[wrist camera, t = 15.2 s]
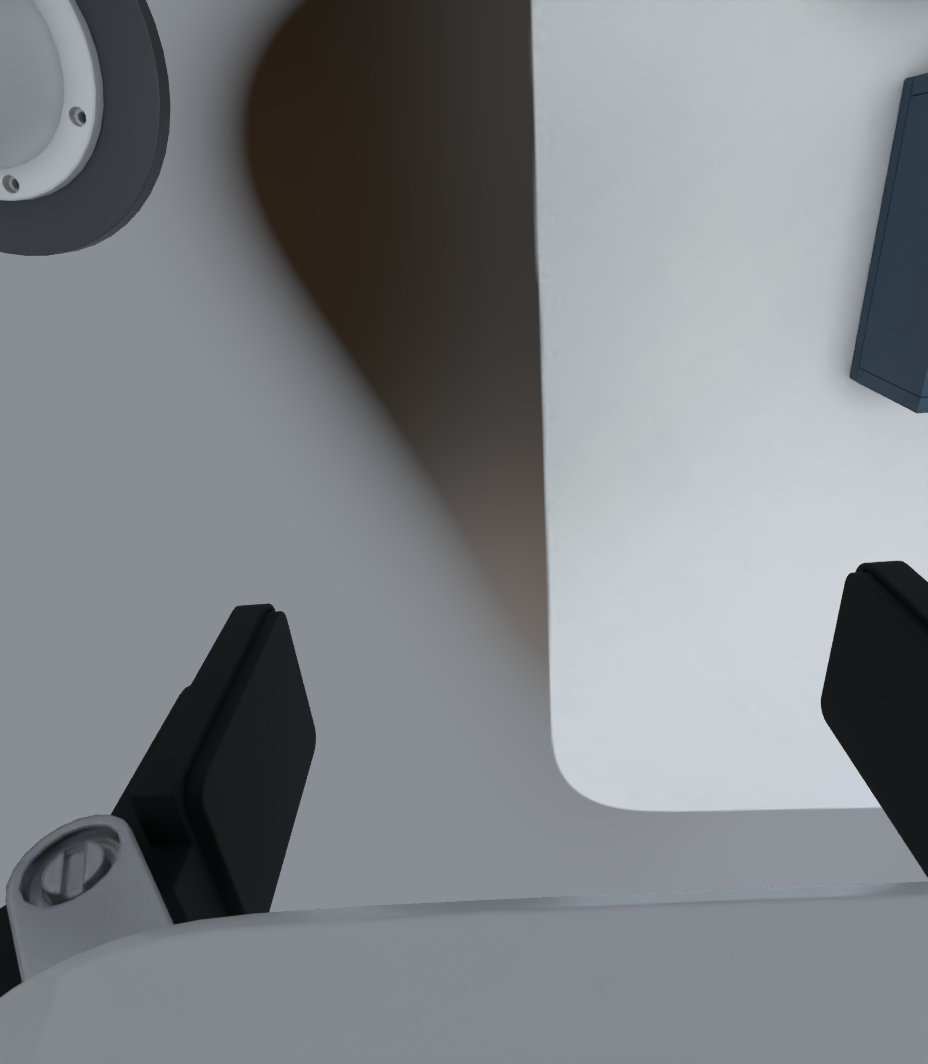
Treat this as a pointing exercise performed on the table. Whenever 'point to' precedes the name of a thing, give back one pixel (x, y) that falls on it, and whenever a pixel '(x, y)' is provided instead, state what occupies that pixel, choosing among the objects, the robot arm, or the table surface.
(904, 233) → the bin
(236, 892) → the robot arm
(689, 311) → the table surface
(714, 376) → the table surface
